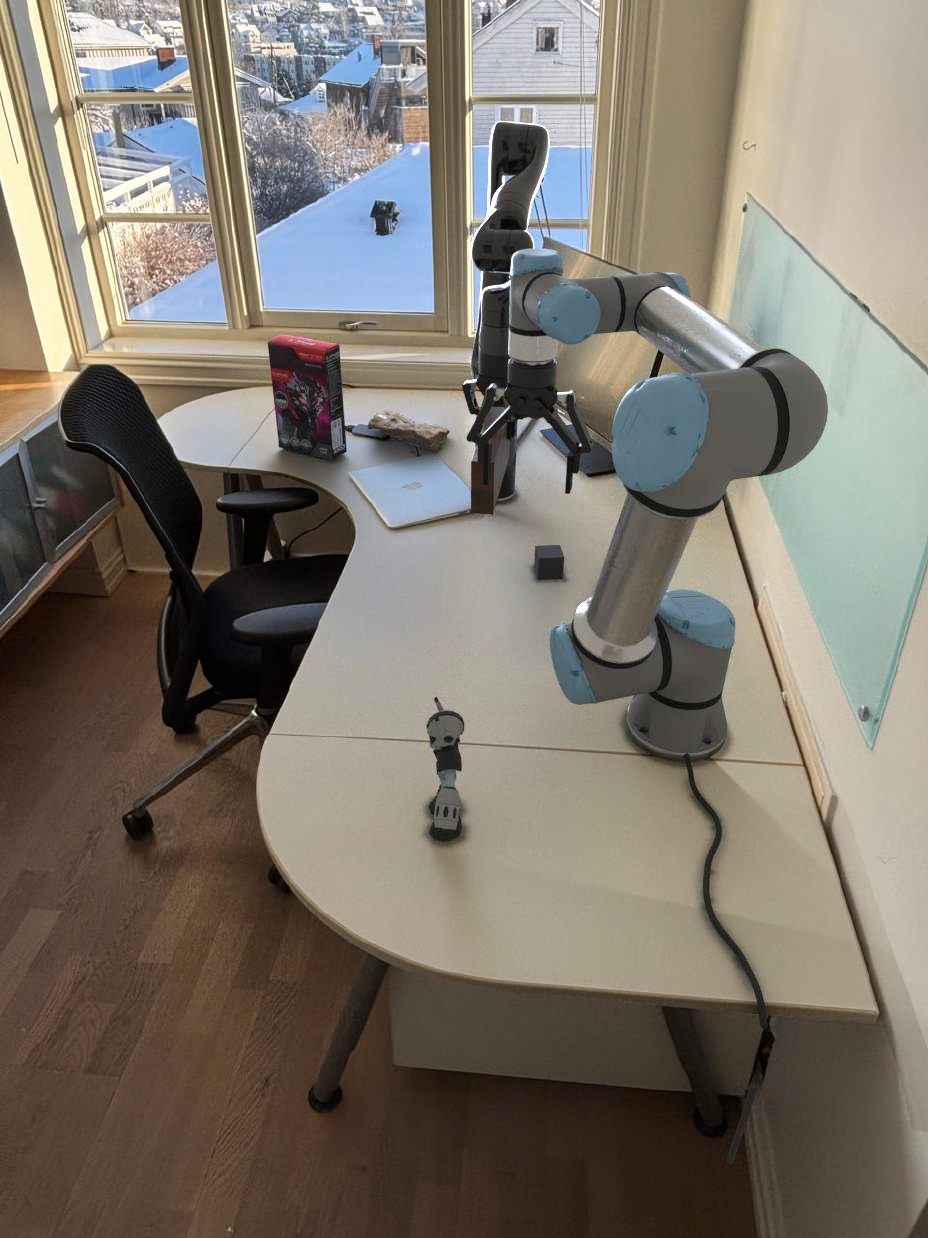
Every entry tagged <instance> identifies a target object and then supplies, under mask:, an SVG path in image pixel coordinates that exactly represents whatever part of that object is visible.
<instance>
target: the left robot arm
mask: <svg viewBox="0 0 928 1238" xmlns="http://www.w3.org/2000/svg"><path fill="white" fill-rule="evenodd" d="M549 152H550V135H549V131H548V129H547V128H546V127H545V126H544V125H541V124H536V123H529V122H528V123H527V122H520V121H519V122H517V121H507V120H500V121H499V120H498V121H497V122H495V124H494V125H493V127H492V129H491V134H490V139H489V152H488V153H489V154H488V183H487V210H486V211H487V212H486V218H485V220H484V221H483V223H482V224H481V225H480V226H479V228H478V229H477V230H476V232H475V234H474V237H473V238H472V242H471V245H470V259H471V262H472V264H473V266H474V267H475V268H476V270H478V271H480V272H481V273H480V291H479V302H478V311H477V312H478V313H477V314H478V315H477V324H476V331H475V335H474V336H475V337H474V341H473V347H472V352H471V358H470V365H469V366H470V375H471V378H472V380H471V379H466V381H464V382H463V384H462V386H461V389H462V392H463V396H464V399H465V402H466V407H467V410H468V412H469V414H470V415H475V419H476V418H477V417H478V415H479V413H480V411H481V409H482V407H483V405H484V403H485V402H486V395H487V390H488V388H489V387H490V386H491V384H493V383H495V384H497V386H498V387H502V388H507V383H508V360H509V359H510V358H511V357H510V356H509V355H508V343H509V307H510V280H509V276H510V270H511V259H512V256H513V255H514V253H515V252H517V251H519V250H523V249H533V248H535V242H534V239H533V237H532V236H531V234H530V233H529V231H528V226H529V222H530V216H531V210H532V205H533V202H534V199H535V197H536V194H537V193H538V190H539V189H540V186H541V183H542V180H543V178H544V175H545V172H546V169H547V165H548V160H549V154H550V153H549ZM506 177H510V178H509V179H507V180H505V179H506ZM477 389H478V390H479V392H480V394H482V396H483V399H482V402H481V404H480V406H479V403H478V400H477V396H476V393H475V392H476V390H477ZM509 406H510V405H509V403H508V402H507V400H506V399H505V397H504V396H501V397H500V399H499V400H498V401H495V402H494V404H493V407H505V410H506V409H507V408H508V407H509ZM524 419H525V418H520V417H519V416H517V415H516V414H514V415H513V416H512V417H511V418H510V419H509V420H508V433H507V440H510V448H509V458H508V462H507V466H506V470H505V473H504V477H503V481H502V484H501V488H500V492H499V495H498V499H497V503H496V504H503V503H507V502H510V501H512V500H513V499H514V498H515V497H516V476H517V475H516V473H517V472H516V471H517V451H518V449H517V447H518V444H519V442H520V441H521V439H522V438H523V436H524V435H525V433H526V432H527V431H528V429H529V428H530V427H531V425H532V424H533V422H534V421H535V419H532V418H530V419H529V421H528V423H527V424H526V426H525V427H524V428H523V430H522V431H521V433H520V434H519V435H518V424H519V421H520V420H524ZM484 422H485V421H484ZM483 425H484V423H483V424H482V426H481V428H480V430H479V432H478V433H479V434H481V431H482V428H483ZM476 446H477V444H476V443H474V449H475V448H476Z"/></svg>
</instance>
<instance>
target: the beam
mask: <svg viewBox="0 0 928 1238" xmlns="http://www.w3.org/2000/svg"><path fill="white" fill-rule="evenodd" d="M504 411H505V407H493V406H492V408H491V410H490V412H489V413H488V415H487V417H486V419H485V422H484V425H483V428H482V431H481V435H482V434H483V433H484V432H485V431H486V430H487V429H488V428H489V427H490V426H491V425H492V424H493V423H494V422H495V421H496V420H497V419H498V418H499V417H500V416H501V414H502V413H503V412H504ZM507 433H508V421H507V422H506V423H505V424H504V425H503V426H502V427H501V428H500V429H499V430H498V431H497V432H496V433H495V434H494V435H493V436H492V437H491V439H490V440H489V441H488V442H492V475H491V481H490V482H489V484H488V485H483V473H484V464H479V463H478V446H476V448H475V447H474V451H473V454H472V456H471V461H470V514H479V515H490V516H491V515H494V513H495V511H496V507H497V504H498V503H497V499H498V495H499V492H500V488H501V484H502V481H503V477H504V473H505V470H506V466H507V462H508V458H509V448H510V440H507Z"/></svg>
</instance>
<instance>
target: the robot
mask: <svg viewBox="0 0 928 1238" xmlns="http://www.w3.org/2000/svg"><path fill="white" fill-rule="evenodd" d="M433 701H434V703H435V706H436V708H437V712H434V713H433V714H432V715H430V717H429V718H428V720H427V722H426V724H425V727H426V734H427V735H428V738H429V747H430V749H432V753H433V755H434V757H435V759H436V762H435V769H436V775H437V777H438V778H439V783H440V784H439V785H438V789H437V792H436V795H434V797H433V798H432V799H431V801H430V802H429V804H428V809H429V811H430V814H431V815H432V816H433V821H432V824H431V826H430V829H429V832H428V834H429V835H430V836H431V837H432V838H433V839H434V840H435V841H439V842H449V841H452V840H454V839H457V838H459V837H460V835H461V832H462V831H463V827H462V826H463V825H462V817H461V815H460V812H461V810H462V808H461V797H460V793H459V792H460V791H459V790H458V789H457V787H456V781H457V772H462V770H463V766H462V765H463V761H462V755H461V752H460V747H459V743H460V742H461V737H460V736H461V735H463V733H464V732H465V720H464V717H462V715H461V714H460V713H458V712H457V711H454V710H451V709H445V708H444V707H443V705H442V703H441V702H440V699H439V698H438V697H437V696H435V697H434V698H433Z"/></svg>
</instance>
